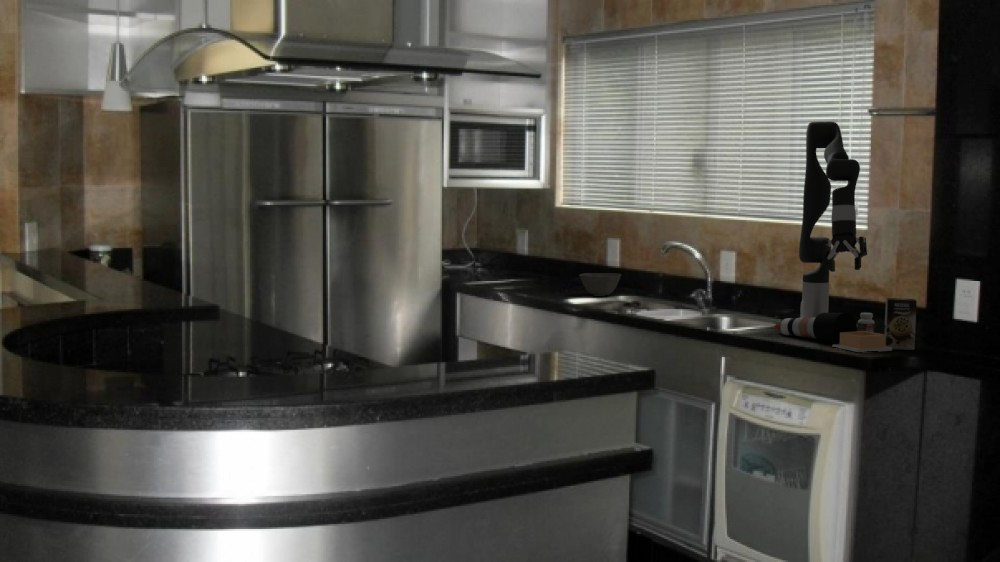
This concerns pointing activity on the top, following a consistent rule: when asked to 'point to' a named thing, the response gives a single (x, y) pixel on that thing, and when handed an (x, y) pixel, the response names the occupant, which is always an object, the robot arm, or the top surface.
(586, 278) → the bowl
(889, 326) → the cookie box
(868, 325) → the pill bottle
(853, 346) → the end holder
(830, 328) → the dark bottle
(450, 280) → the top surface
